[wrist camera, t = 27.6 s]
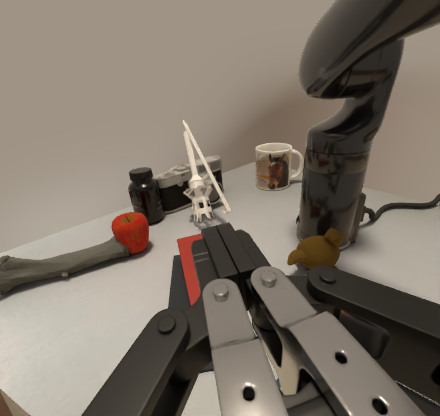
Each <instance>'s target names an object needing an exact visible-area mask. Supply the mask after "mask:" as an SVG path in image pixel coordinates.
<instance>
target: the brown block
mask: <svg viewBox="0 0 440 416" xmlns="http://www.w3.org/2000/svg"><path fill="white" fill-rule="evenodd" d="M0 416H30V415H29V414H28V413H27V412H25V411H24V410H23V409H22V408H21V407H20V406H19V405H18V404H17V403H15V402H14V401H13V400H12V399H11V398H10V397H9V396H8V395H7V394H6V393H4V392H3V391H2V390H1V389H0Z"/></svg>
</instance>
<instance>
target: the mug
mask: <svg viewBox="0 0 440 416" xmlns="http://www.w3.org/2000/svg"><path fill="white" fill-rule="evenodd" d="M292 153H295V154H297V155H298V156H299V158H300V165H299V168H298V170H297V171H296V172H295V173H294V174H292V175H290V171H291V156H292ZM303 163H304V162H303V157H302V155H301V154H300V153H299V152H298V151H297V150H294V149H292V146H291V145H289V144H284V143H267V144H262V145H259V146H257V147H256V185H257V187H259V188H260V189H263V190H270V191H275V190H282V189H285V188H287V187H288V186H289V185H290V179H293V178H295V177H297V176H298V175H299V174H300V173H301V171H302V168H303Z"/></svg>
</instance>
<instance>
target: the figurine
mask: <svg viewBox="0 0 440 416" xmlns="http://www.w3.org/2000/svg"><path fill="white" fill-rule="evenodd" d="M343 241H344V232H342V231H338V230H336V229H333V228H330V229H329V230H328V231H327V232H326V234H325V235H324V236H311V237H309V238H306V239H304V240H302V241H301V242H300V243H299V244H298V246H297V249H296V250H294V251H292V252H291V253H290V255H289V257H288V265H293V264H296V263H301V264H302V265H303V266H305V267H306V268H308V269H310V270H311V269H312V268H313V267H316V266H329V267H332V268H335V269H338V268H337V267H336V266H334V265H335V264H336V262H337V261H338V259H339V256H340V249H339V245H341V243H342V242H343ZM338 270H339V269H338Z"/></svg>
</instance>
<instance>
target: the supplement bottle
mask: <svg viewBox="0 0 440 416" xmlns="http://www.w3.org/2000/svg"><path fill="white" fill-rule="evenodd" d="M129 175H130V180H131V181H132V182H131V183H130V185H129V188H128V190H129V194H130V198H131V202H132V205H133V209H134V212H137V213H142V214H143V215H144V216H145V217H146V219H147V221H148V224H150V223H154V222H157V221H159V220H161V219H162V218H163V217H164V214H165V213H164V207H163V202H162V197H161V192H160V187H159V183H158V181H157V180H155V179H153V178H152V177H153V174H152V171H151V168H147V167H146V168H137V169H133V170H131V171H130V172H129Z"/></svg>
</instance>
